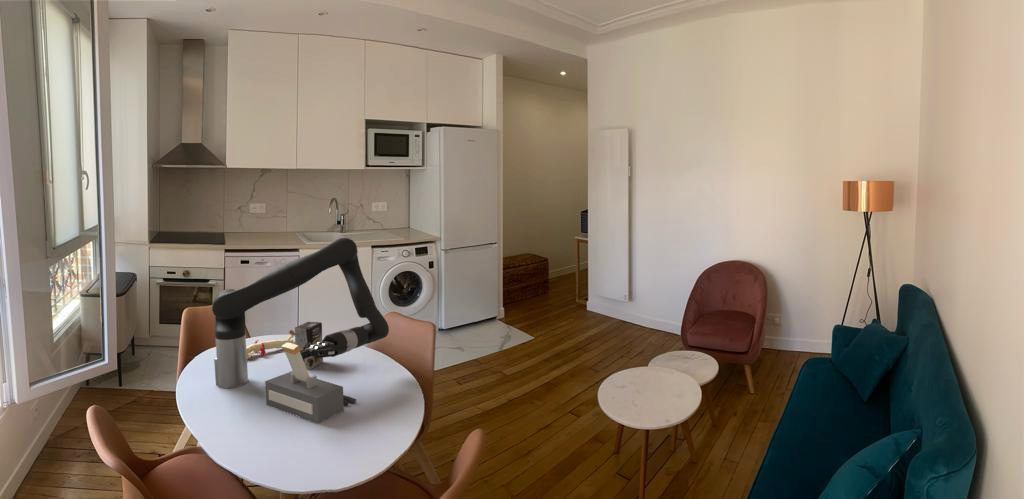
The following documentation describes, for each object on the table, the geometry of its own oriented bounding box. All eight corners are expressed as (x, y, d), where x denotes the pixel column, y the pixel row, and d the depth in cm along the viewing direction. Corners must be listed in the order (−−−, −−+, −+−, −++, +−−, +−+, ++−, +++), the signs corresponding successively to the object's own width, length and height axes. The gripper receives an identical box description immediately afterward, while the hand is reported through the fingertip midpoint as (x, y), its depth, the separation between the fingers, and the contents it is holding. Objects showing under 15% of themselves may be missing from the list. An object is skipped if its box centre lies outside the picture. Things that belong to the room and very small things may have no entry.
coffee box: (310, 370, 197) (309, 328, 194) (295, 368, 198) (293, 327, 196) (323, 361, 206) (322, 322, 203) (309, 360, 207) (307, 320, 205)
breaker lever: (300, 377, 167) (286, 342, 161) (313, 381, 164) (299, 345, 158) (295, 381, 165) (280, 346, 159) (308, 385, 162) (293, 349, 156)
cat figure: (289, 346, 226) (227, 356, 208) (290, 327, 226) (228, 334, 207) (300, 352, 220) (237, 362, 201) (300, 331, 219) (238, 340, 200)
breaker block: (308, 387, 181) (307, 357, 179) (358, 403, 169) (357, 371, 168) (265, 405, 167) (263, 372, 165) (316, 424, 155) (315, 389, 153)
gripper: (326, 328, 179) (283, 341, 164) (354, 334, 173) (312, 348, 158) (326, 349, 180) (283, 364, 165) (354, 356, 174) (312, 372, 159)
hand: (297, 356), depth 161 cm, fingers closed
